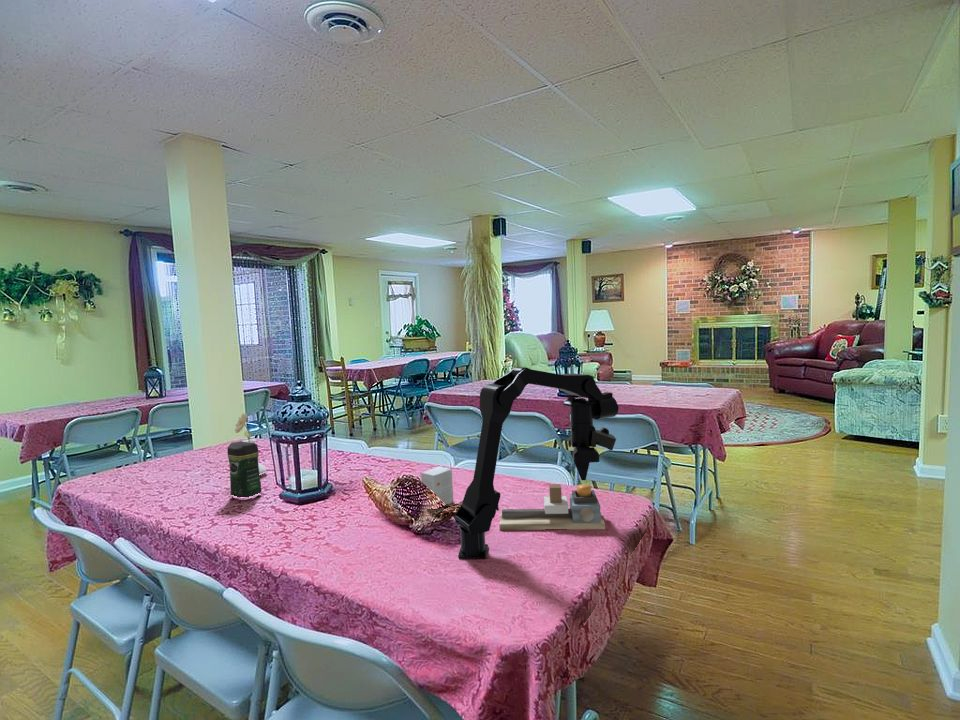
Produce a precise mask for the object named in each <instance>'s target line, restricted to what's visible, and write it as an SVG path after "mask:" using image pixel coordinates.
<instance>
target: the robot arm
mask: <svg viewBox="0 0 960 720" xmlns="http://www.w3.org/2000/svg"><path fill="white" fill-rule="evenodd" d="M527 385H535V386H541V387H548V388H553V389H557V390H560V391H562V392H564V393H566V394H568V395H569V396H568V397H567V399H566V400H565V401H564V402H563V403H562V405H563V406H565V407H570V423H569V428H570V435H569V437H568V438H567V445H568V448H573V450H570V456H571V457H572V461H573V463H574V466H575V468H576V470H577V474H578V475H579V478H580V480H581V481H586V480H587V476H588V471H589V468H590V467H589V466H590V464H591V463H600V453H599V452H598V450H597V449H596V448H597V446H600V447H603V448H605V449H607V450H609V451H613V450H614V447H615V444H616V442H617V438H616V437H615V436H614V435H613V434H612V433H611V434H610V430H609V428H606V427H601V428H600V429H599V430H598V429H596V426H595V425H594V420H602V419H609V418H614V417H616V416H617V415H618V413H619V410H620V409H619V405H618V402H617V400H616V398H615V397H614V396H613V395H614V394H613V392H610V391H606V392H605V391H604V392H602V391H601V390H600V388H599V387H598V385H597V383H596V380H595V377H594V376H593V375H590V374H581V373H563V374H562V373H561V374H559V373H554V372H547V371H543V370H538V369H537V370H536V369H532V368H529V367H526V366H525V367H523V366H516V367H514V368H512V369H511V370H510V371H509V372H507V373H505V374H504V375H502V376H500V377H499V378H497V379H495V380H494V381H493V382H491V383H488V384H485V386H483V387H482V388H481V390H480V393H479V409H480V413H481V419H482V424H481V431H480V435H479V436H480V437H479V443H478V448H477V454H476V460H475V467H474V473H473V479H472V480H471V482H470V484H469V485H468V487H467V488H466V490H465V493H464V497H463V500H462V503H461V505H460V506H459V507H458V508H457V511H456V512H455V513H454V514H453V516H452V517H453V519H454V522H455V523H456V525H458V526H460V527H459V529H460V530H459V531H460V548H459V551H458V557H457V558H458V559H487V556H488V549H489V544H488V543H487V544H486V534H485V533H487V532H490V529H491V526H492V521H493V519H494V518H495V517H496V513H497V511H498V512H499V511H500V509H499V504H500V503H499V502H500V501H501V492H499V491H497V489H496V490H495V486H494V479H495V476H496V475H495V474H496V467H497V462H498V461H497V460H498V455H499V449H500V443H501V437H502V436H501V435H502V430H503V426H504V425H503V424H504V423H505V422H506V419H507V418H508V417H509V415H510V413H511V411H512V407H513V404H514V401H515V400H516V399H518V397H520V396H521V395H522V393H523V392H524V390H525V388H526V387H527ZM570 395H572V396H570ZM574 396H577V397H579V398H576V397H574Z"/></svg>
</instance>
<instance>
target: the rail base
mask: <svg viewBox="0 0 960 720" xmlns="http://www.w3.org/2000/svg"><path fill="white" fill-rule="evenodd" d="M603 517H604V516H603V515H602V512H601V504H600V501H599V500H598V497H597V494H596V492H595V490H594V489H591V496H590V497H579V496H577V490H571V493H569V508H568V514H545V508H517V509H516V508H515V509H514V508H513V509H512V508H507V509H505V508H504V509H501V510H500V518H499V531H533V530H534V531H535V530H538V531H541V530H542V531H543V530H545V529H567V530H606V523H605V520H604V518H603Z"/></svg>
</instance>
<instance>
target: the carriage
mask: <svg viewBox="0 0 960 720" xmlns="http://www.w3.org/2000/svg"><path fill="white" fill-rule="evenodd" d="M548 488H549V492H548V494H549V495H548V496H544V495H543V506H544V508H543V509H545V514H568V509H569V504H568V500H567V499H568V498H567V495H562V485H561V483H559V484H558V483H553V484H552V483H551V484H548Z"/></svg>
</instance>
